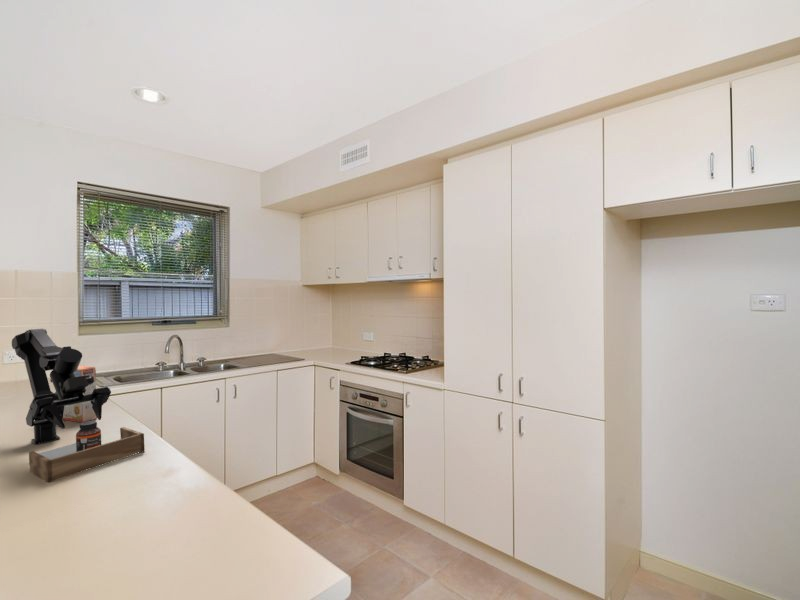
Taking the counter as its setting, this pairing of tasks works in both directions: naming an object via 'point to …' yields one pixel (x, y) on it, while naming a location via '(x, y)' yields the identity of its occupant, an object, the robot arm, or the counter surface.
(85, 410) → the cracker box
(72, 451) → the mat
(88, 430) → the supplement bottle
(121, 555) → the counter surface
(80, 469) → the open wooden enclosure
